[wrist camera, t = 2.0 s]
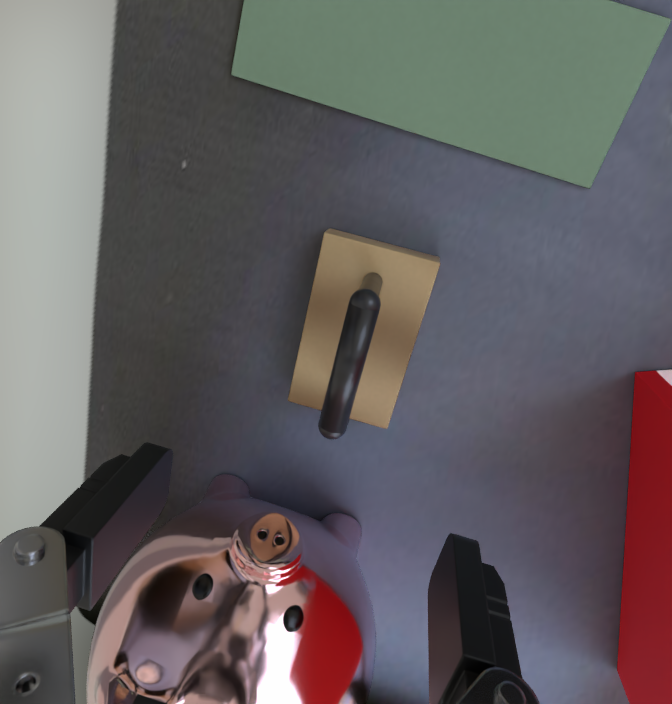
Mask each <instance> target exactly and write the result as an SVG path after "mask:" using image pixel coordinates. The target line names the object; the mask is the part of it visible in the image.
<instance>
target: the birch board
mask: <svg viewBox="0 0 672 704" xmlns="http://www.w3.org/2000/svg"><path fill="white" fill-rule="evenodd" d="M439 267H440V259H439V257H437V256H434V255H430V254H426V253H422V252H419V251H415V250H411V249H407V248H403V247H400V246H396V245H392V244H388V243H384V242H381V241H377V240H373V239H369V238H365V237H362V236H358V235H354V234H350V233H347V232H343V231H339V230H335V229H331V228H329V229H328V230H327V231H326V232H325V233H324V236H323V240H322V245H321V250H320V254H319V259H318V263H317V268H316V273H315V277H314V282H313V286H312V291H311V296H310V300H309V305H308V309H307V314H306V319H305V323H304V328H303V332H302V337H301V341H300V346H299V351H298V355H297V360H296V364H295V369H294V374H293V378H292V383H291V387H290V392H289V397H288V401H290V402H293V403H297V404H300V405H304V406H307V407H311V408H314V409H318V410H321V415H320V419H319V423H318V427H319V431H320V433H321V434H322V435H323V436H324V437H325V438H327V439H338V438H340V437H341V436H342V435H343V434H344V433H345V431H346V428H347V425H348V421H349V419H353V420H356V421H360V422H363V423H367V424H371V425H374V426H378V427H381V428H385V429H387V428H388V425H389V422H390V419H391V416H392V413H393V409H394V406H395V403H396V400H397V397H398V394H399V391H400V388H401V385H402V381H403V378H404V375H405V372H406V369H407V366H408V363H409V360H410V357H411V354H412V350H413V347H414V344H415V341H416V338H417V335H418V332H419V329H420V326H421V322H422V319H423V316H424V313H425V310H426V307H427V304H428V301H429V298H430V295H431V291H432V288H433V285H434V282H435V279H436V276H437V273H438V270H439Z"/></svg>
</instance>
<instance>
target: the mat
mask: <svg viewBox="0 0 672 704" xmlns="http://www.w3.org/2000/svg"><path fill="white" fill-rule="evenodd" d="M670 22H671V19H669V18H666V17H663V16H659V15H656V14H653V13H649V12H646V11H643V10H640V9H636V8H633V7H630V6H626V5H623V4H620V3H617V2H613V1H610V0H244V3H243V9H242V15H241V21H240V26H239V32H238V38H237V44H236V49H235V55H234V61H233V67H232V72H231V75H233V76H236V77H239V78H242V79H245V80H249V81H252V82H255V83H258V84H261V85H264V86H267V87H271V88H274V89H277V90H280V91H283V92H286V93H289V94H293V95H296V96H299V97H302V98H305V99H308V100H312V101H315V102H318V103H321V104H324V105H327V106H330V107H334V108H337V109H340V110H343V111H346V112H349V113H353V114H356V115H359V116H362V117H365V118H368V119H371V120H375V121H378V122H381V123H384V124H387V125H390V126H393V127H397V128H400V129H403V130H406V131H409V132H412V133H416V134H419V135H422V136H425V137H428V138H431V139H434V140H438V141H441V142H444V143H447V144H450V145H453V146H456V147H460V148H463V149H466V150H469V151H472V152H475V153H479V154H482V155H485V156H488V157H491V158H494V159H497V160H501V161H504V162H507V163H510V164H513V165H516V166H519V167H523V168H526V169H529V170H532V171H535V172H538V173H542V174H545V175H548V176H551V177H554V178H557V179H560V180H564V181H567V182H570V183H573V184H576V185H579V186H583V187H586V188H589V189H590V188H591V185H592V183H593V181H594V179H595V177H596V175H597V173H598V171H599V169H600V167H601V165H602V163H603V161H604V159H605V156H606V154H607V152H608V150H609V148H610V146H611V144H612V142H613V140H614V138H615V136H616V134H617V132H618V130H619V127H620V125H621V123H622V121H623V119H624V117H625V115H626V113H627V111H628V109H629V107H630V105H631V103H632V101H633V98H634V96H635V94H636V92H637V90H638V88H639V86H640V84H641V82H642V80H643V78H644V76H645V74H646V72H647V69H648V67H649V65H650V63H651V61H652V59H653V57H654V55H655V53H656V51H657V49H658V47H659V45H660V43H661V40H662V38H663V36H664V34H665V32H666V30H667V28H668V26H669V24H670Z"/></svg>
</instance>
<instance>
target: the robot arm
mask: <svg viewBox="0 0 672 704" xmlns="http://www.w3.org/2000/svg"><path fill="white" fill-rule="evenodd" d="M172 459H173V451H172V450H171V449H168V448H165V447H161V446H158V445H155V444H151V443H148V442H146V443H144V444H143V445H142V446H141V447H140V448H139V449H138V450H137V451H136V452H135V453H134V454H133V455H132V456H131V457H129V456H125V455H122V454H121V455H119V456H117V457H115V458H113V459H111V460H109V461H107V462H105V463H103V464H102V465H101V466H100V467H99V468H98V469H97V470H96V471H95V472H94V473H93V474H92V475H91V477H90V478H88V479H87V480H86V481H85V482H84V483H83V484H82V485H81V487H80V488H78V489H77V490H76V491H75V492H74V493H73V494H72V495H71V496H70V497H69V498H67V499H66V501H64V503H62V504H61V505H60V506H59V507H58V508H57V509H56V511H54V512H53V513H52V514H51V515H50V516H49V517H48V518H47V519H46V520H45V521H44V522H43V523H42V524H41V525H40V526H39V527H29V528H25V529H22V530H18V531H16V532H14V533H12V534H10V535H9V536H7V537H6V538H4V539H3V540H2V541H1V542H0V704H75V689H74V671H73V670H74V669H73V652H72V635H71V617H70V613H71V612H72V610H73V609H74V607H75V606H77V607H80V608H83V609H86V610H89V611H90V610H91V609H92V608H93V606H94V605H95V604H96V602H97V601H98V599H99V598H100V597H101V595H102V594H103V592H104V591H105V590H106V588H107V587H108V585H109V584H110V583H111V581H112V580H113V579H114V577H115V576H116V574H117V573H118V572H119V570H120V569H121V567H122V566H123V565H124V563H125V562H126V560H127V559H128V558H129V556H130V555H131V553H132V552H133V551H134V549H135V548H136V547H137V545H138V544H139V542H140V541H141V540H142V538H143V537H144V535H145V534H146V533H147V531H148V530H149V528H150V527H151V526H152V524H153V523H154V522H155V520H156V519H157V517H158V516H159V515H160V513H161V511H162V510H163V508H164V505H165V503H166V500H167V497H168V493H169V485H170V477H171V468H172ZM428 640H429V704H540V703H539V701H538V699H537V697H536V695H535V693H534V692H533V690H532V689H531V688H530V686H529V685H528V684H527V683H526V682H525V681H524V680H523V679H522V675H521V670H520V665H519V660H518V654H517V649H516V644H515V639H514V633H513V628H512V623H511V620H510V612H509V607H508V605H507V596H506V591H505V586H504V583H503V581H502V580H501V578H500V576H499V575H498V573H497V571H496V570H495V568H494V566H491V565H488V564H484V563H482V561H481V554H480V547H479V543H478V541H476V540H473V539H469V538H466V537H462V536H459V535H456V534H452V533H450V534H449V535H448V537H447V539H446V541H445V544H444V546H443V548H442V551H441V553H440V555H439V558H438V560H437V563H436V565H435V567H434V570H433V572H432V575H431V579H430V583H429V589H428ZM133 704H167V703H164V702H161V701H158V700H155V699H152V698H149V697H145V696H142V695H139V694H137V696H136V698H135V700H134V702H133Z"/></svg>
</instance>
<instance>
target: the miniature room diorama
mask: <svg viewBox="0 0 672 704" xmlns="http://www.w3.org/2000/svg"><path fill="white" fill-rule="evenodd" d="M617 671H618V674H619V676H620V679H621V682H622V684H623V687H624V690H625V692H626V695H627V697H628V700H629V703H630V704H672V369H670V370H656V371H643V372H635V382H634V399H633V415H632V432H631V448H630V465H629V482H628V498H627V515H626V531H625V548H624V565H623V581H622V598H621V614H620V631H619V648H618V664H617Z"/></svg>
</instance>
